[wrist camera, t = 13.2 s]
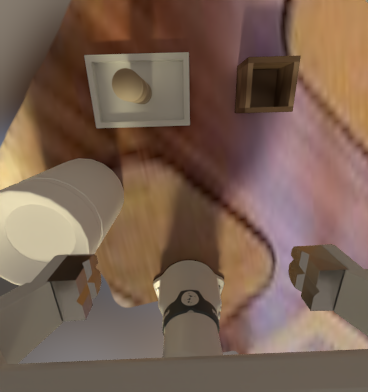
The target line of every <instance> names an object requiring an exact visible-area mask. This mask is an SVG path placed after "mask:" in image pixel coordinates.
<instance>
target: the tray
mask: <svg viewBox="0 0 368 392" xmlns="http://www.w3.org/2000/svg"><path fill="white" fill-rule="evenodd" d="M84 58H85V64H86V70H87V76H88V82H89V87H90V93H91V99H92V105H93V111H94V117H95V123H96V128H121V127H154V126H187V125H190V91H189V52H175V53H140V54H105V55H84ZM122 68H128V69H131V70H133V71H134V72H136V73H137V74H138V75H139V76H140V77H141V78H142V79H143V80H144V81H145V82H146V83H148V84H149V86H150V87H151V90H152V96H151V99H150V101H149V102H147V103H146V104H138V103H133V102H128V101H124V100H122V99H120V98H119V97H117V95H116V94H115V93H114V91H113V88H112V78H113V76H114V74H115V73H116V72H117V71H118V70H120V69H122Z"/></svg>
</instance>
